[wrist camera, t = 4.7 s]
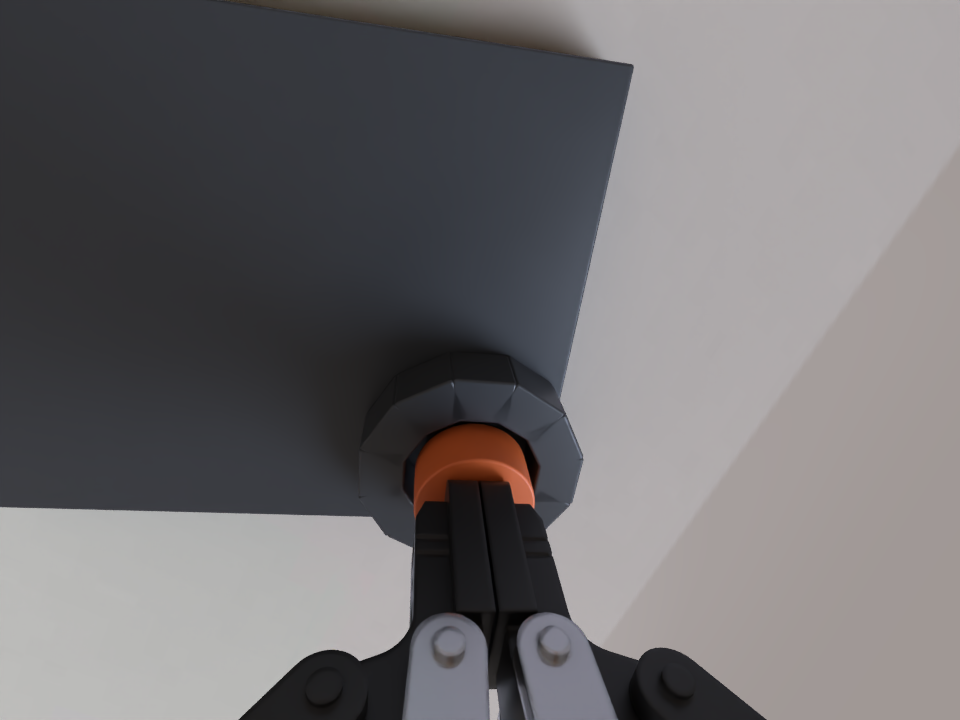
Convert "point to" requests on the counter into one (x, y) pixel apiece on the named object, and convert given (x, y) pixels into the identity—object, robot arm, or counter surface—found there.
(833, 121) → the counter surface
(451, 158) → the scale
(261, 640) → the counter surface
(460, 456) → the button
